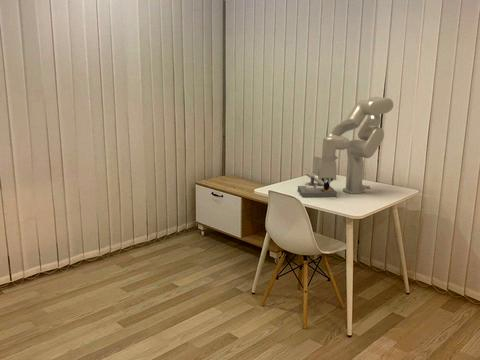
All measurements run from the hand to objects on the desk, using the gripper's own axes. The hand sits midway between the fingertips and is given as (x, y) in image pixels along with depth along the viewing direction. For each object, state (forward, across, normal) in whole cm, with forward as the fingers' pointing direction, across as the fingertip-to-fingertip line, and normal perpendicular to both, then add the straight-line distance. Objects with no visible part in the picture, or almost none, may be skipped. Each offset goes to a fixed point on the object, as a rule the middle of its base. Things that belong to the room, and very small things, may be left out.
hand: (326, 189), depth 276 cm
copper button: (+3, 0, 0) cm, 3 cm away
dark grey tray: (+4, +5, -4) cm, 7 cm away
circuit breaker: (+4, -10, -45) cm, 46 cm away
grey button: (+1, +10, 0) cm, 10 cm away
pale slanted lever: (+4, 0, -27) cm, 27 cm away
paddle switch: (+1, +7, -9) cm, 11 cm away
